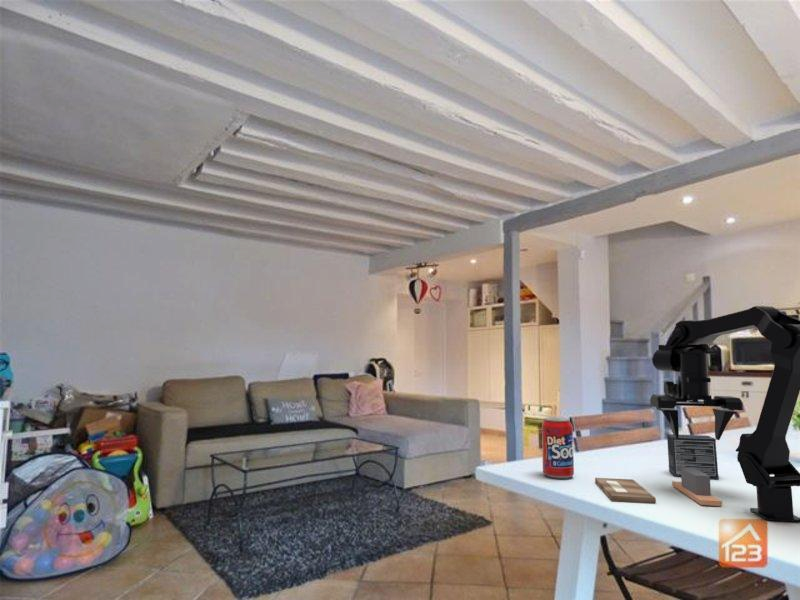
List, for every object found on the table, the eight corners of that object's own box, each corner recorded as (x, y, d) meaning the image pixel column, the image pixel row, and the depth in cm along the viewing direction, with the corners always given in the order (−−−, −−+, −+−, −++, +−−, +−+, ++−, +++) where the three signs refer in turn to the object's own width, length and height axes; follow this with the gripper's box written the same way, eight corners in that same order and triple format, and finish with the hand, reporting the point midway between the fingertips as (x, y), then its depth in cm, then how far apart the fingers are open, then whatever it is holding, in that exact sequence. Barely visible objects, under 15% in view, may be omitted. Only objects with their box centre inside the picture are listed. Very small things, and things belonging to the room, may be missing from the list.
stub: (722, 506, 105) (720, 480, 106) (700, 504, 106) (699, 479, 107) (690, 486, 121) (689, 464, 122) (672, 485, 122) (671, 463, 122)
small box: (711, 474, 135) (709, 434, 136) (719, 480, 128) (717, 438, 129) (668, 471, 137) (666, 432, 139) (674, 477, 131) (672, 436, 132)
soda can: (555, 471, 136) (553, 415, 138) (580, 477, 130) (578, 419, 131) (536, 475, 132) (535, 417, 133) (561, 481, 125) (560, 421, 127)
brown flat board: (655, 503, 107) (655, 497, 108) (612, 501, 109) (611, 495, 109) (633, 484, 123) (633, 479, 123) (595, 482, 124) (595, 477, 125)
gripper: (718, 372, 126) (721, 434, 125) (641, 370, 129) (643, 432, 127) (742, 374, 115) (746, 442, 114) (657, 372, 118) (660, 440, 116)
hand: (696, 439), depth 118 cm, fingers open, 9 cm apart
